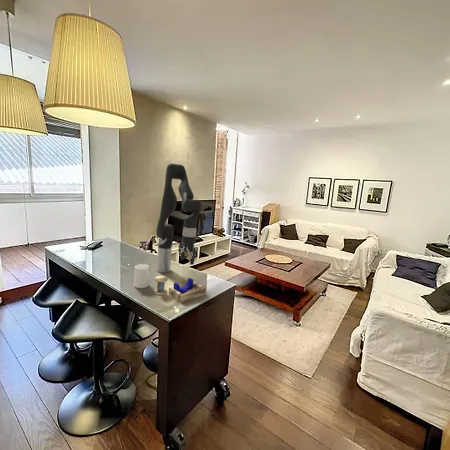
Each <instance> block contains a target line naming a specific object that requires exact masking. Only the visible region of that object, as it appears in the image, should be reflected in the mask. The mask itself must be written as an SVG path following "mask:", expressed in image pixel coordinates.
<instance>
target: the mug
mask: <svg viewBox="0 0 450 450" xmlns="http://www.w3.org/2000/svg"><path fill="white" fill-rule="evenodd" d="M149 268H150V265H148V264H144V263H140V264H136V265H135V266H134V274H133V275H134V278H133V287H134V288H137V289H144V288H147V287H148V286H149V283H150V281H151V273H150V271H149V270H150V269H149Z"/></svg>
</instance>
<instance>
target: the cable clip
mask: <svg viewBox="0 0 450 450" xmlns="http://www.w3.org/2000/svg"><path fill="white" fill-rule="evenodd" d="M193 281H194V279H193V278H191V277H189V278H187V281H186V283H185V284H184V285H183V286H182V287H180V283H178V282H176V281H175V282H173V288H174V289H175V290H177V291H179V292H180V293H181V294H183V293H186V291H188V290H191V289H193Z"/></svg>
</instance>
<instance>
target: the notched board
mask: <svg viewBox="0 0 450 450" xmlns="http://www.w3.org/2000/svg"><path fill="white" fill-rule="evenodd" d="M206 293H207V287H205V286H204V285H202V284H199V282H196V281H194V280H193V289H191V290H188V291H186V293H183V294H181V293H180V292H179V291H177V290H175V289H174V287H172V286H171V287H169V288H168V296H169V297H171V298H173V299H174V300H176V301H177V302H179V303H180V304H183V303H185V302H188V301H191V300H194V299H197V298H198V297H199V298H200V297H201V296H204V295H206Z"/></svg>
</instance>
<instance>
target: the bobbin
mask: <svg viewBox="0 0 450 450" xmlns="http://www.w3.org/2000/svg"><path fill="white" fill-rule="evenodd" d="M154 281H155V282H157V283H156V284H157V285H156V289H154V291H153V293H154V294H155V295H156V296H163V295H166V294H167V291H168V290H167V289H166V288H165V285H166V284H165V282H167V281H168V277H167V276H165V275H158V276H155V278H154Z"/></svg>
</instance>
